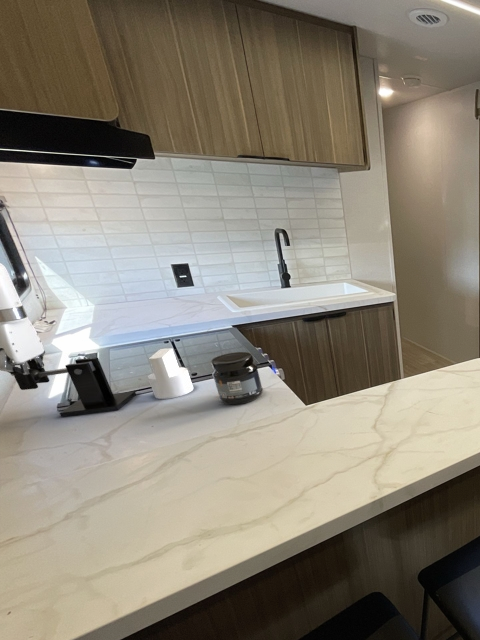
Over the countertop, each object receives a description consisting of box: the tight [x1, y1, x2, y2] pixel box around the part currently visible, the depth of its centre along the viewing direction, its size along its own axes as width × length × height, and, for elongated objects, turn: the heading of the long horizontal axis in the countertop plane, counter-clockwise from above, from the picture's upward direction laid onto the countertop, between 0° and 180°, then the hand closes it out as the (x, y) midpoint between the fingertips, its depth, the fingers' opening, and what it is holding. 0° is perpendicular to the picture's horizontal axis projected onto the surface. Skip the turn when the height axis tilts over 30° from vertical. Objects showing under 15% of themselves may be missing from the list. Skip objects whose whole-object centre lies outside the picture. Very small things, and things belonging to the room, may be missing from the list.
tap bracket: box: [59, 356, 137, 418], centre depth 106 cm, size 12×10×13 cm
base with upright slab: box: [147, 347, 194, 400], centre depth 114 cm, size 9×9×12 cm
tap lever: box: [28, 361, 95, 382], centre depth 103 cm, size 14×3×3 cm, turn 108°
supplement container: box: [210, 351, 264, 406], centre depth 110 cm, size 10×10×12 cm
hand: (35, 385), depth 103 cm, fingers closed on tap lever, 3 cm apart
